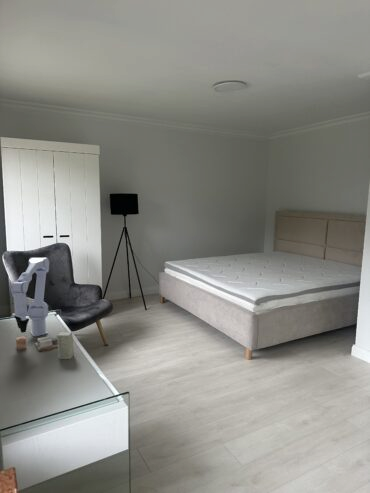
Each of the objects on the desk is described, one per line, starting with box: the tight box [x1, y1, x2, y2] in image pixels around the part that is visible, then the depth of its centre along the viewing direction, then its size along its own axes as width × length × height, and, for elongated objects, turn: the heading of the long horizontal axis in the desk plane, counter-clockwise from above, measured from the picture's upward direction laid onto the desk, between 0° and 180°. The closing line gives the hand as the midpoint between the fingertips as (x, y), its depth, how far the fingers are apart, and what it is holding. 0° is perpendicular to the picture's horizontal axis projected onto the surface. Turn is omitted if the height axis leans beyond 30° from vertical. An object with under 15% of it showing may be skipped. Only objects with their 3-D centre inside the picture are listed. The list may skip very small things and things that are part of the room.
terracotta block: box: [15, 335, 27, 351], centre depth 179 cm, size 4×4×5 cm
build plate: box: [34, 335, 58, 352], centre depth 181 cm, size 10×11×4 cm
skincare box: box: [56, 331, 75, 360], centre depth 167 cm, size 6×4×12 cm
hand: (22, 329), depth 178 cm, fingers open, 7 cm apart
